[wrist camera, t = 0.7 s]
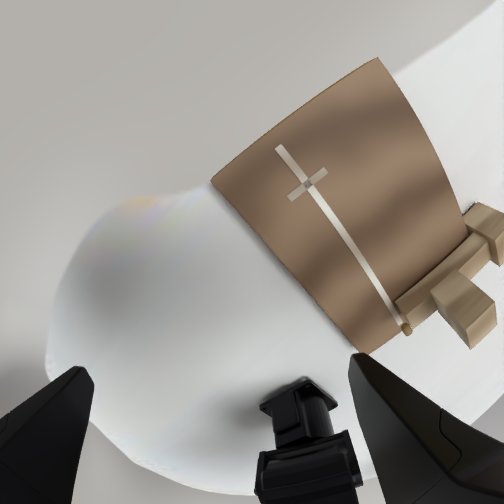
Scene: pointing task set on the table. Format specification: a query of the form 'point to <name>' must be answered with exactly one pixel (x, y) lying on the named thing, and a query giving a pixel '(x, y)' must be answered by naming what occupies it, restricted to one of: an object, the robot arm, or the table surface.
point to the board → (350, 201)
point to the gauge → (460, 281)
